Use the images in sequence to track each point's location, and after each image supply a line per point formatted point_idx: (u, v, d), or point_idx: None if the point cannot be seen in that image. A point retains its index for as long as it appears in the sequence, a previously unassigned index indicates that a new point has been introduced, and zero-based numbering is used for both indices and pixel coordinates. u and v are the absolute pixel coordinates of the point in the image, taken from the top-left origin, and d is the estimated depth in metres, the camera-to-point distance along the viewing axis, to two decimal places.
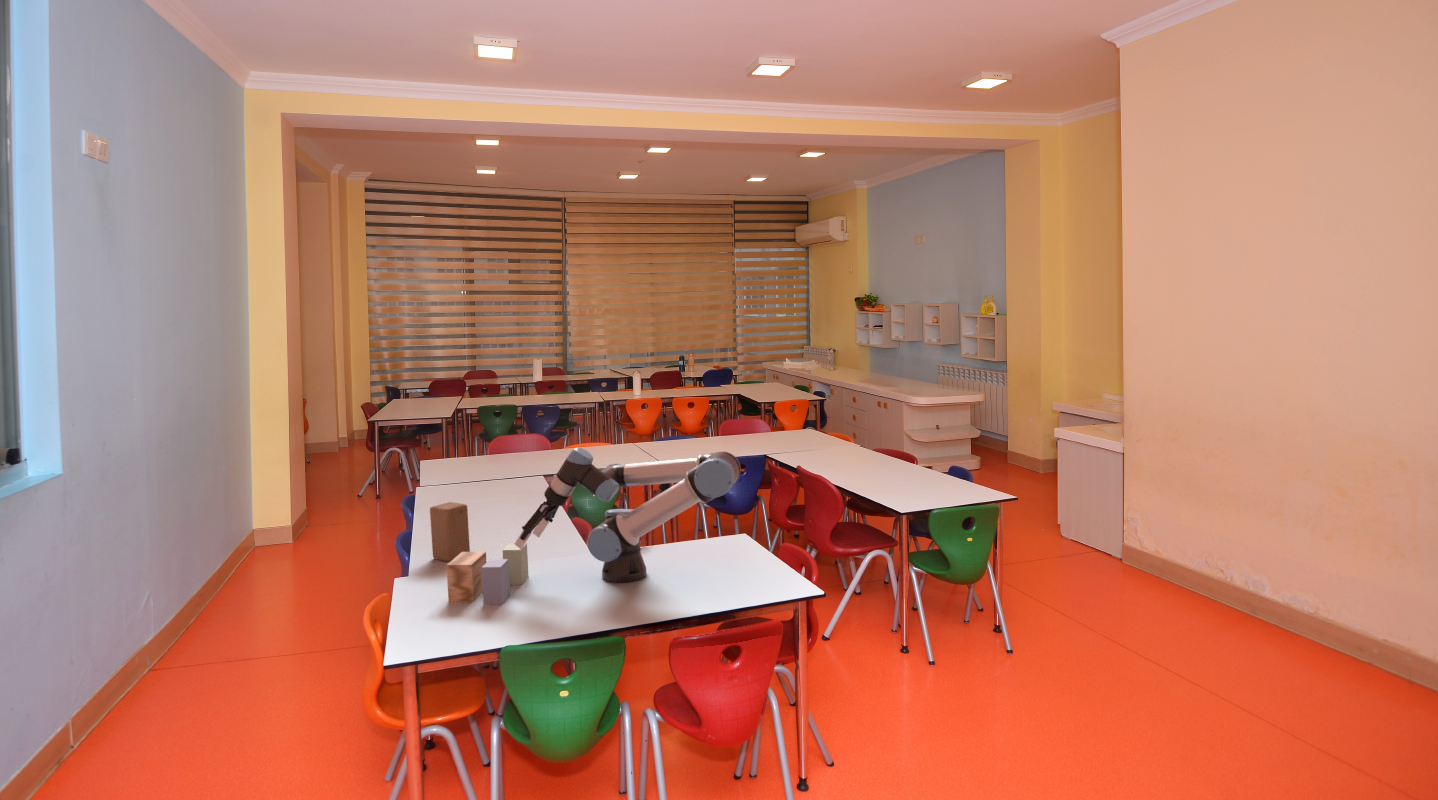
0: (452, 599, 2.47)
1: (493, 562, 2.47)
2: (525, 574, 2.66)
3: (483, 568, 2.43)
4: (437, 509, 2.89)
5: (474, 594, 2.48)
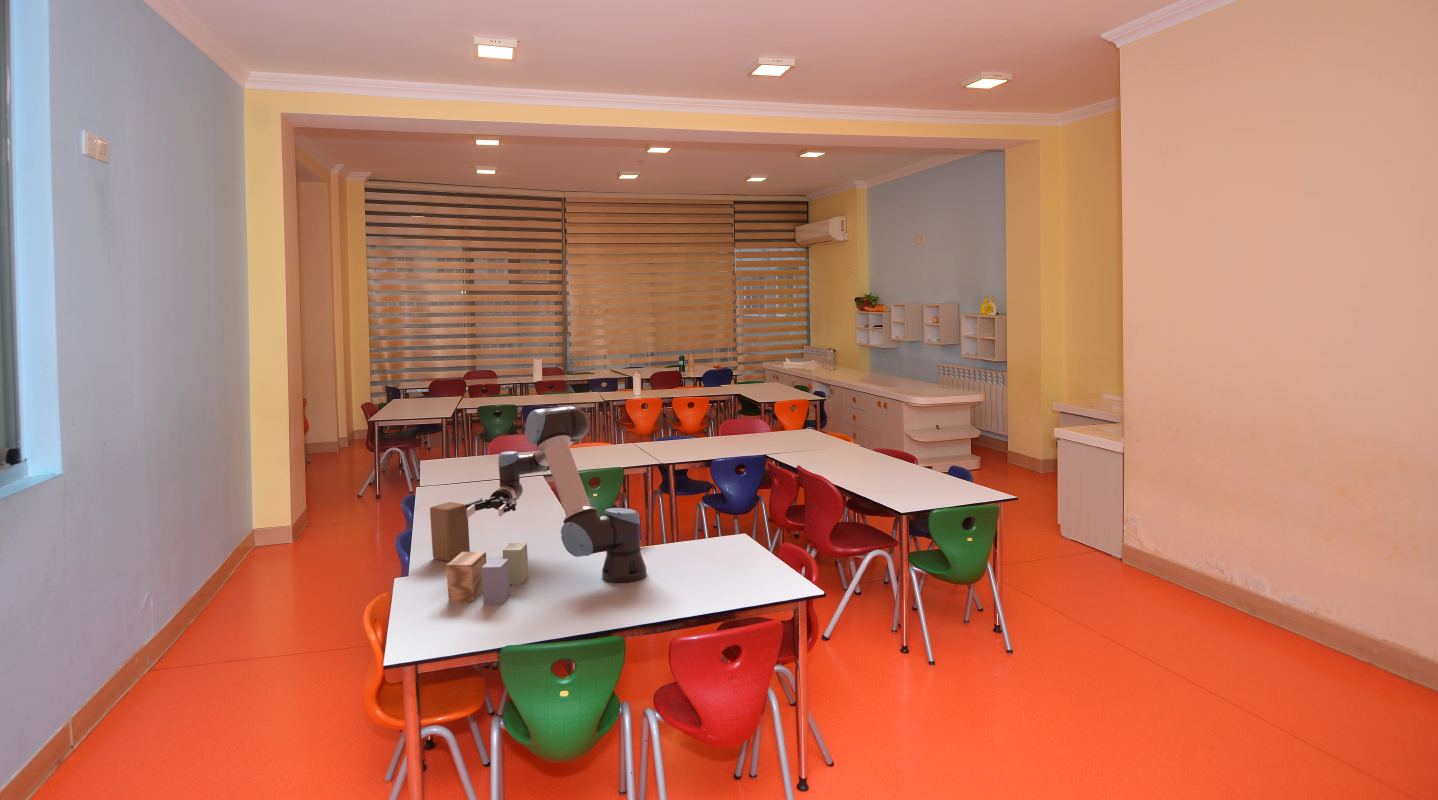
0: (452, 599, 2.47)
1: (493, 562, 2.47)
2: (525, 574, 2.66)
3: (483, 568, 2.43)
4: (437, 509, 2.89)
5: (474, 594, 2.48)
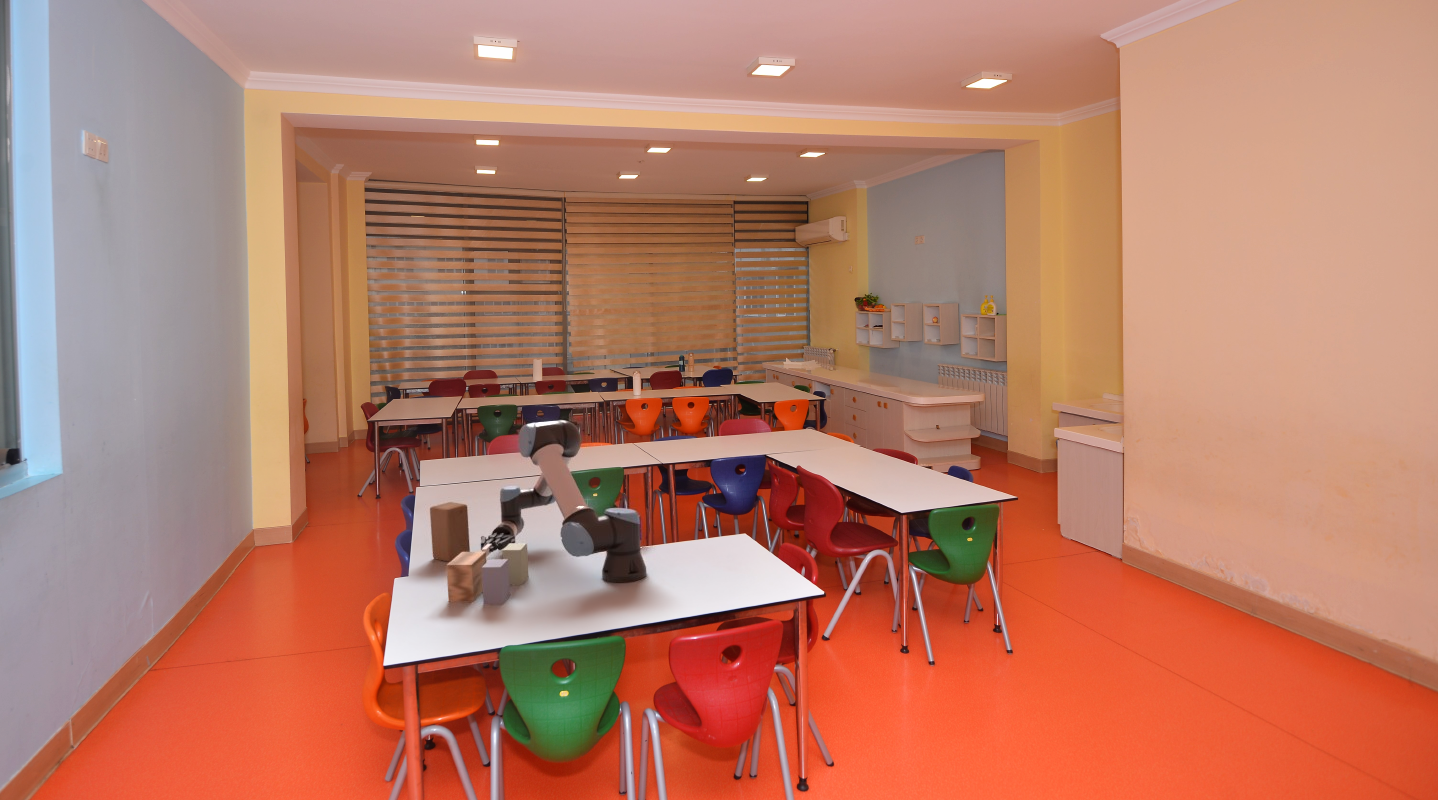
0: (452, 599, 2.47)
1: (493, 562, 2.47)
2: (525, 574, 2.66)
3: (483, 568, 2.43)
4: (437, 509, 2.89)
5: (474, 594, 2.48)
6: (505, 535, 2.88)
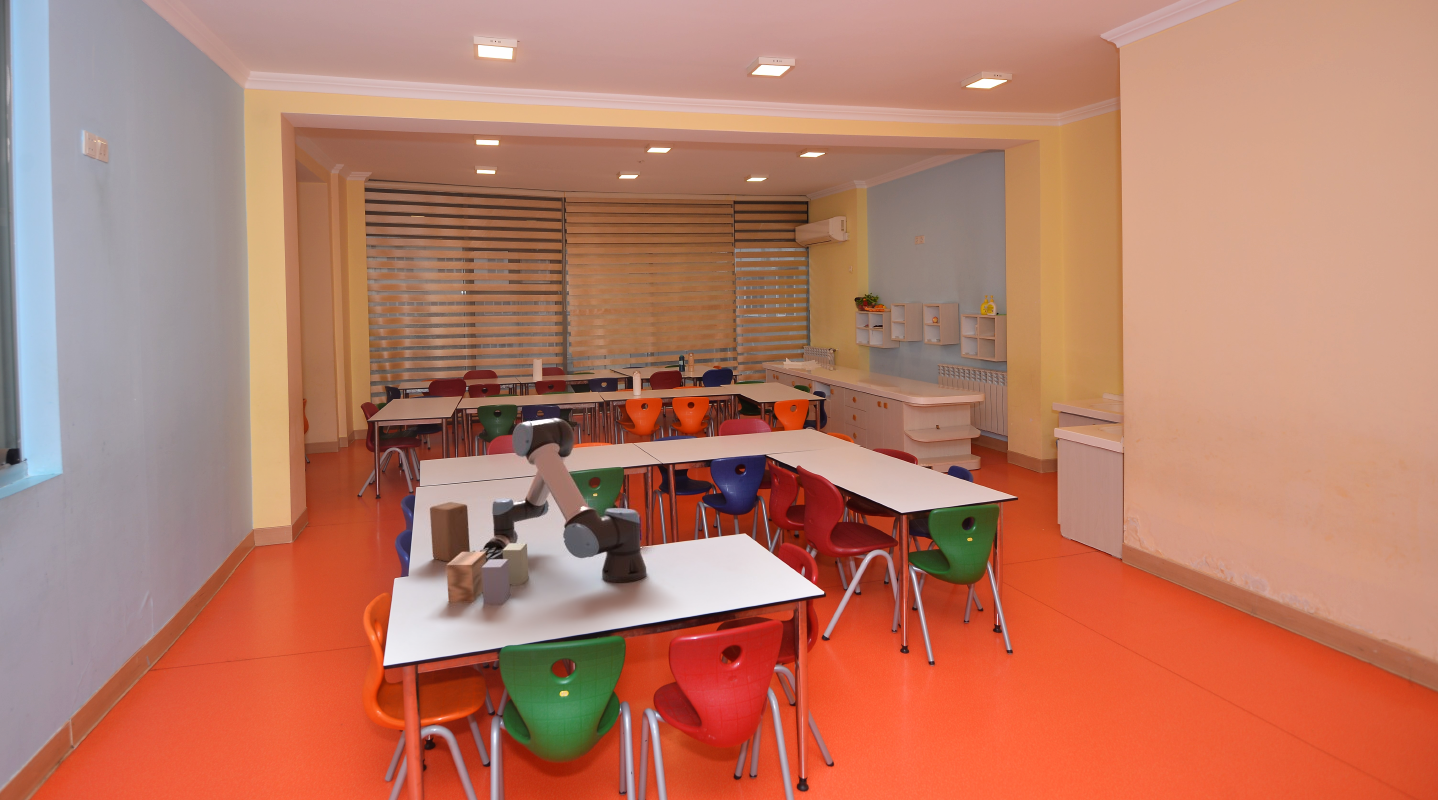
0: (452, 599, 2.47)
1: (493, 562, 2.47)
2: (525, 574, 2.66)
3: (483, 568, 2.43)
4: (437, 509, 2.89)
5: (474, 594, 2.48)
6: (497, 550, 2.78)
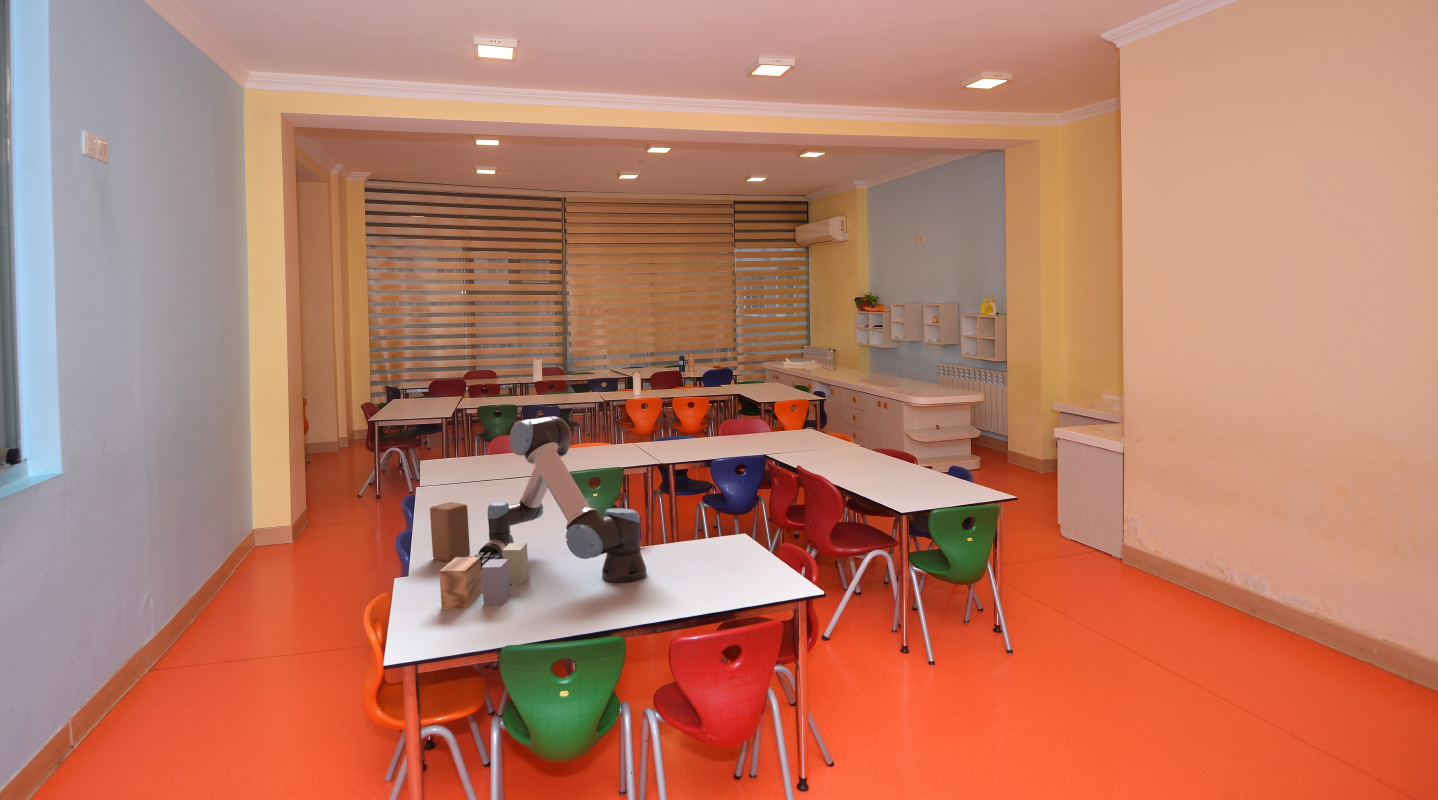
0: (445, 606, 2.41)
1: (493, 562, 2.47)
2: (525, 574, 2.66)
3: (483, 568, 2.43)
4: (437, 509, 2.89)
5: (467, 601, 2.42)
6: (492, 554, 2.72)
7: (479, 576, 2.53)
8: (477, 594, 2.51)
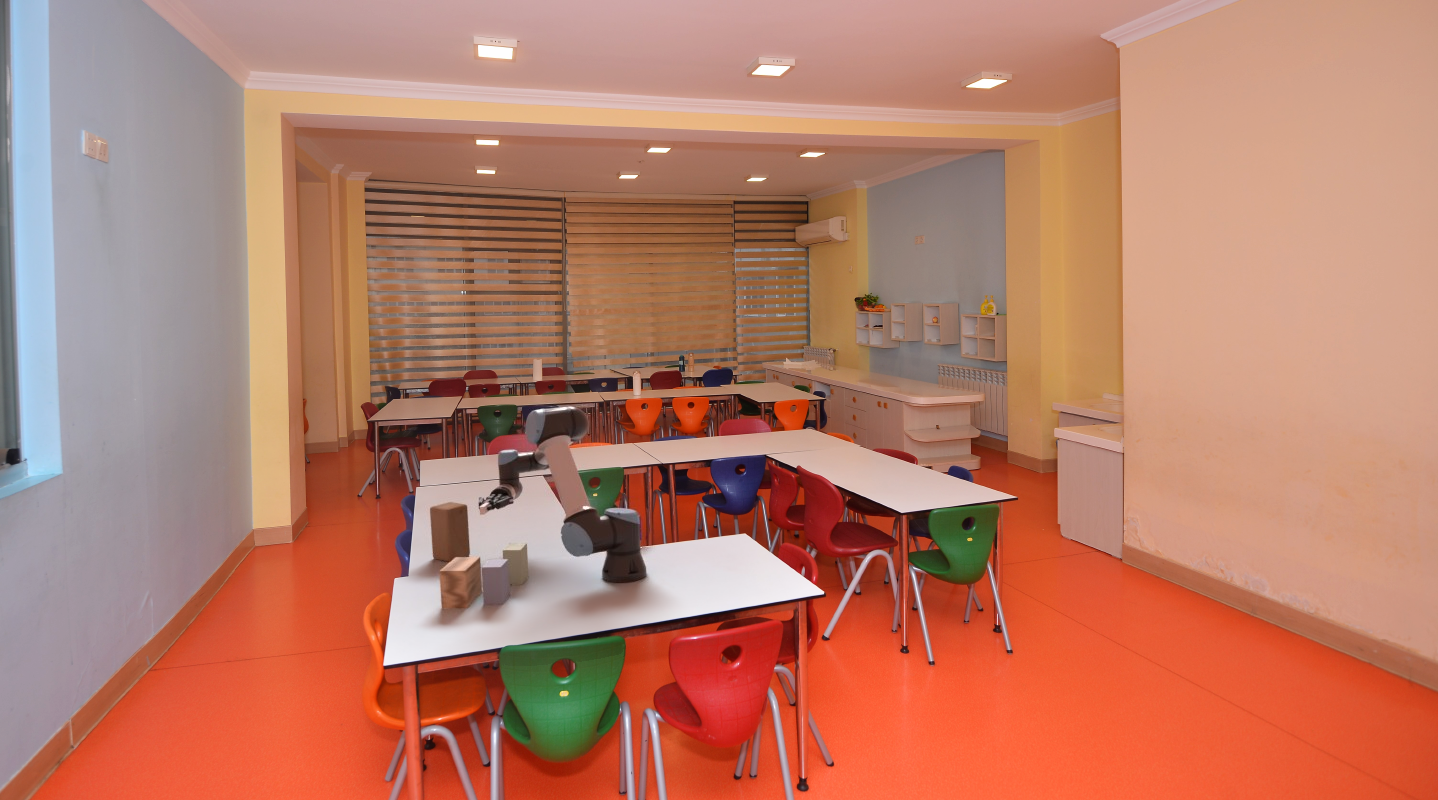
0: (445, 606, 2.41)
1: (494, 562, 2.47)
2: (525, 574, 2.66)
3: (483, 568, 2.43)
4: (437, 509, 2.89)
5: (467, 601, 2.42)
6: (503, 496, 2.87)
7: (479, 576, 2.53)
8: (477, 594, 2.51)
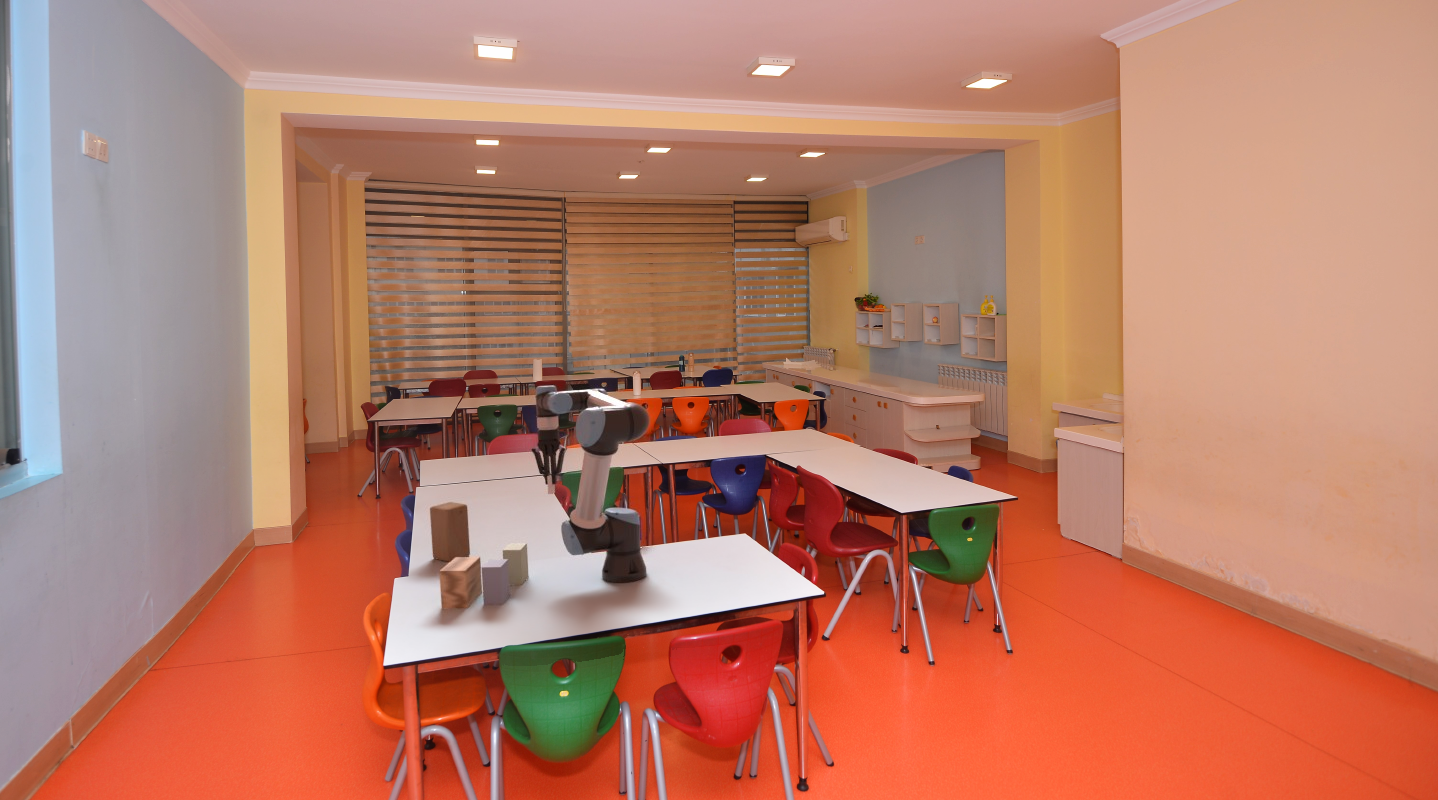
0: (445, 606, 2.41)
1: (493, 562, 2.47)
2: (525, 574, 2.66)
3: (483, 568, 2.43)
4: (437, 509, 2.89)
5: (467, 601, 2.42)
6: (553, 445, 2.81)
7: (479, 576, 2.53)
8: (477, 594, 2.51)
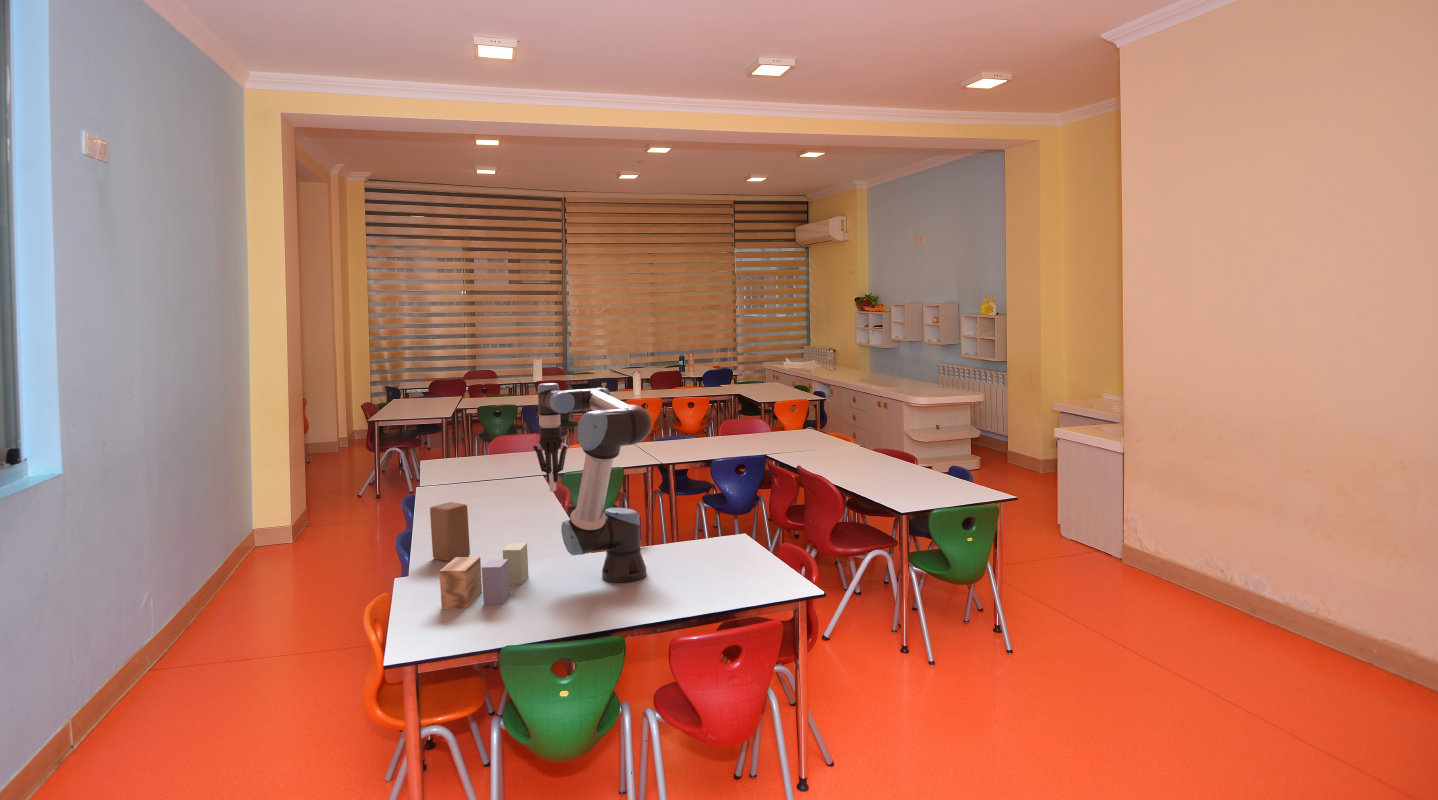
0: (445, 606, 2.41)
1: (493, 562, 2.47)
2: (525, 574, 2.66)
3: (483, 568, 2.43)
4: (437, 509, 2.89)
5: (467, 601, 2.42)
6: (555, 443, 2.80)
7: (479, 576, 2.53)
8: (477, 594, 2.51)
